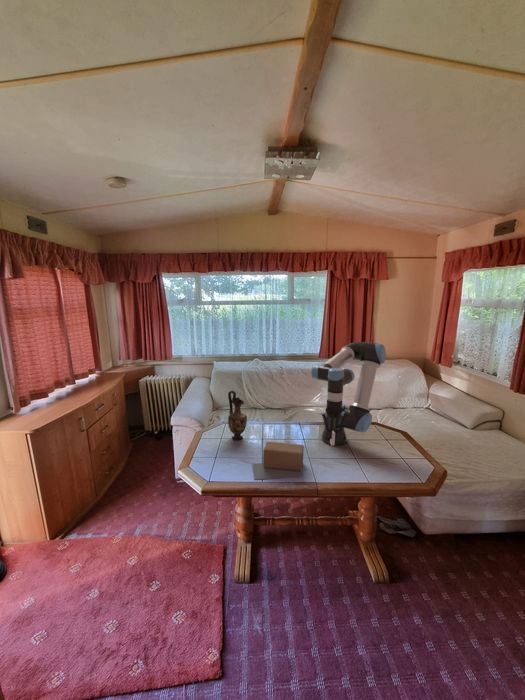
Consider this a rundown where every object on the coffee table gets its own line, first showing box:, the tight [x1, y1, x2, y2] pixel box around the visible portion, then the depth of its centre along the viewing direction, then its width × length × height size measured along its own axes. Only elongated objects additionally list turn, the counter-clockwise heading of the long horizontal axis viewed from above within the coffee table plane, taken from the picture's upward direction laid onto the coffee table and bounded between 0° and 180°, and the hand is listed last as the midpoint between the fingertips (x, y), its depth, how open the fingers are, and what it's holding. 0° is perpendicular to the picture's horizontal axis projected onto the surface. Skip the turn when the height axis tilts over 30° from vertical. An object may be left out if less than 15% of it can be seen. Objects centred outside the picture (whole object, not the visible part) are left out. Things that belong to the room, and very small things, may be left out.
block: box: [262, 441, 304, 472], centre depth 151 cm, size 10×10×20 cm
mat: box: [251, 462, 304, 481], centre depth 147 cm, size 24×14×1 cm, turn 96°
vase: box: [227, 390, 248, 442], centre depth 180 cm, size 12×12×30 cm
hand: (332, 444), depth 148 cm, fingers closed
